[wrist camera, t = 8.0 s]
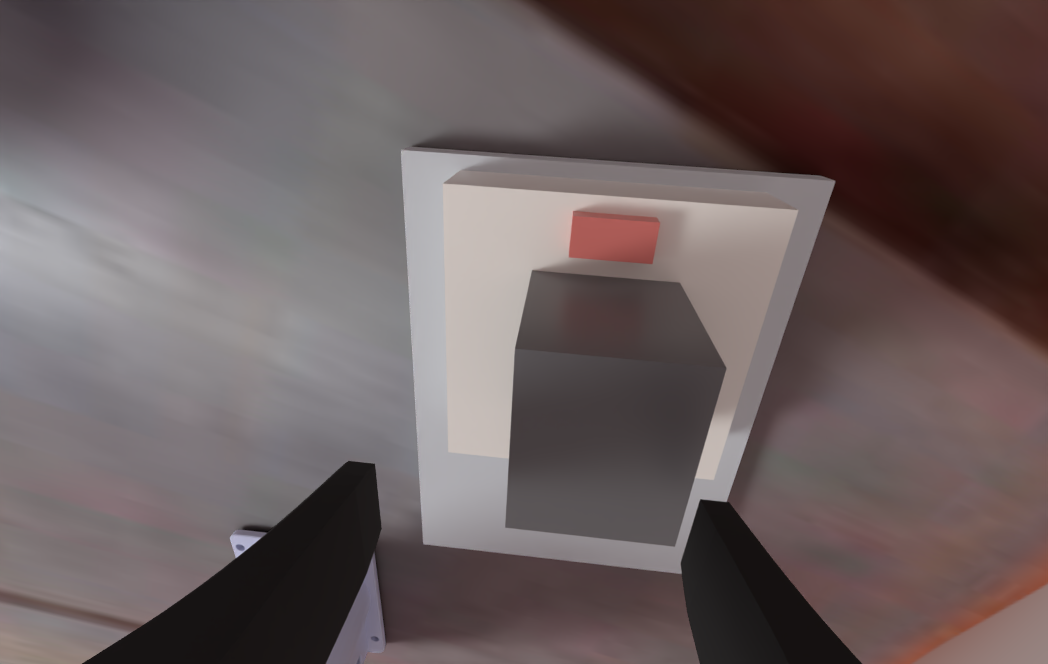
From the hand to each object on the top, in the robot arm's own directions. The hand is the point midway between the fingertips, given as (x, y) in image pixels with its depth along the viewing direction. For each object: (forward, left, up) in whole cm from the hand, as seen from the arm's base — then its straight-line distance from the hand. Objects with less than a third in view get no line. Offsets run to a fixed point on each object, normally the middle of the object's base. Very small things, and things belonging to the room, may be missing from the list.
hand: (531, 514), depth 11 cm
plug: (+1, -2, -8) cm, 8 cm away
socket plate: (+1, -2, -9) cm, 9 cm away
